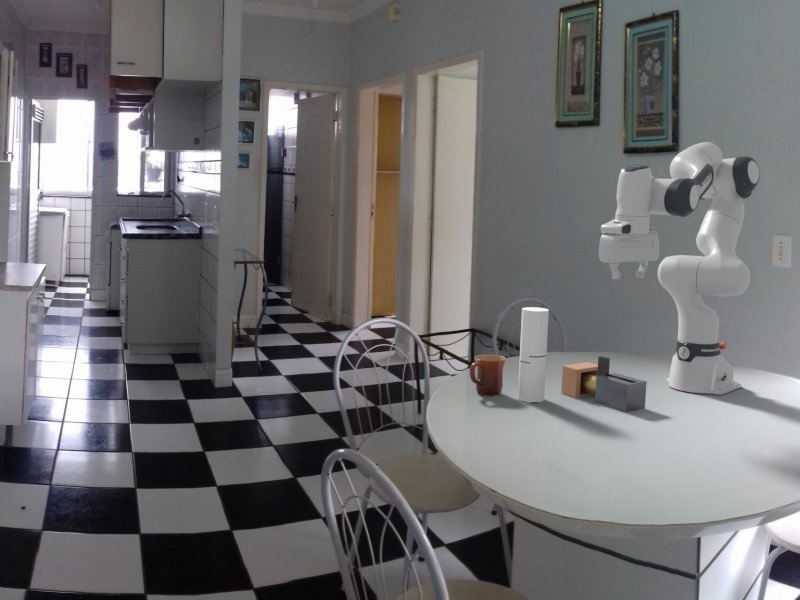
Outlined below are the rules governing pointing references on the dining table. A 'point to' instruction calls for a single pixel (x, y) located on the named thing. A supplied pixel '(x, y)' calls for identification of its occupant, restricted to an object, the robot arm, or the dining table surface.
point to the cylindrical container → (533, 354)
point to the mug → (488, 374)
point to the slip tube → (590, 380)
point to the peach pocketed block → (576, 378)
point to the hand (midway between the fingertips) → (628, 278)
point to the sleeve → (620, 392)
